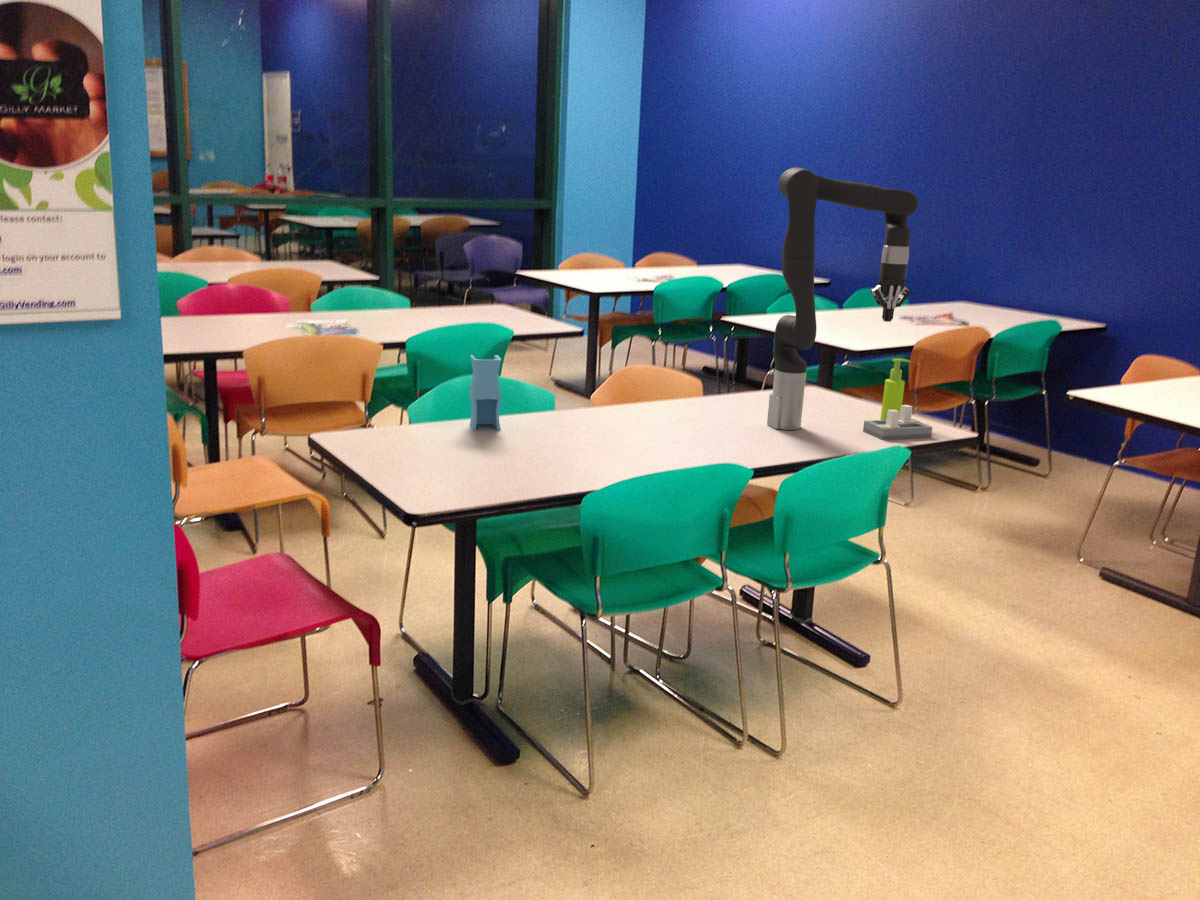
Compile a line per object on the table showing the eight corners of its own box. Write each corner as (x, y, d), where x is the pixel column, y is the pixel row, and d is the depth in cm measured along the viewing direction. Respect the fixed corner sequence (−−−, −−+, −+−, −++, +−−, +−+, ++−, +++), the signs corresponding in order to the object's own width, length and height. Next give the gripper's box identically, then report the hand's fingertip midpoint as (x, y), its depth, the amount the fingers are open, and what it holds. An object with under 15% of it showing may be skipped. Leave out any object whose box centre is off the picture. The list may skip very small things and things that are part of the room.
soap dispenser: (905, 424, 319) (913, 361, 314) (882, 423, 319) (890, 360, 314) (900, 420, 325) (908, 357, 320) (878, 419, 325) (886, 356, 320)
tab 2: (901, 428, 308) (904, 407, 306) (895, 426, 311) (898, 404, 309) (912, 428, 309) (915, 406, 307) (906, 425, 312) (909, 404, 310)
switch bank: (882, 439, 299) (883, 428, 298) (862, 431, 308) (864, 420, 308) (930, 437, 305) (932, 426, 304) (910, 428, 314) (911, 418, 313)
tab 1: (887, 433, 301) (890, 412, 299) (881, 431, 304) (884, 409, 302) (899, 433, 302) (902, 411, 300) (893, 430, 305) (896, 409, 303)
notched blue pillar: (496, 423, 297) (497, 354, 291) (500, 430, 290) (502, 360, 284) (468, 423, 295) (469, 354, 289) (472, 430, 287) (473, 360, 282)
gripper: (882, 262, 292) (875, 323, 296) (921, 263, 296) (913, 323, 301) (867, 260, 298) (860, 319, 303) (905, 260, 303) (898, 319, 308)
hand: (887, 321), depth 302 cm, fingers closed
